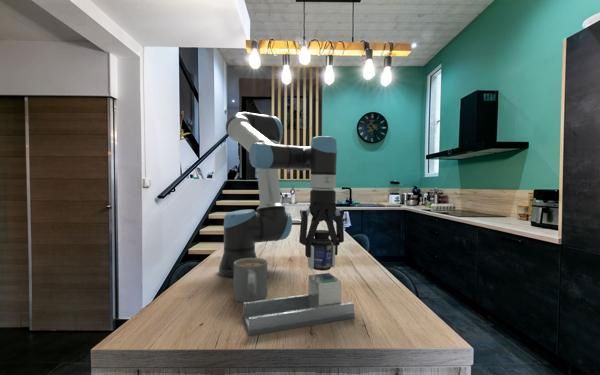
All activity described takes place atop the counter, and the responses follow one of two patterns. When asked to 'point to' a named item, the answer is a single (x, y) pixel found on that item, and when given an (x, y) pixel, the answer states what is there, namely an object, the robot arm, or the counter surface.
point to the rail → (299, 308)
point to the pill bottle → (322, 250)
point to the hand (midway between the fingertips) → (321, 266)
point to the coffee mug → (250, 279)
